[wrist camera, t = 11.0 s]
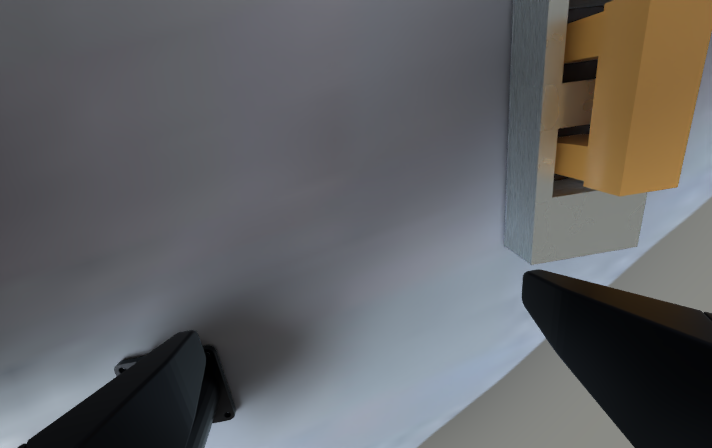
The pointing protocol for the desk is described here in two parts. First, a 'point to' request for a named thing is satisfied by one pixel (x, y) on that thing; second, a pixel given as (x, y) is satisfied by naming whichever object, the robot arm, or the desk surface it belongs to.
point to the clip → (637, 93)
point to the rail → (554, 149)
